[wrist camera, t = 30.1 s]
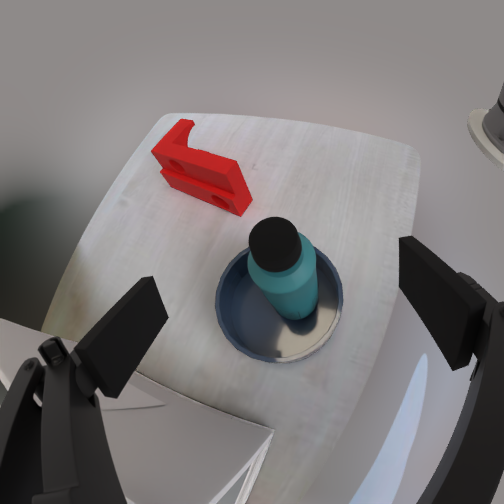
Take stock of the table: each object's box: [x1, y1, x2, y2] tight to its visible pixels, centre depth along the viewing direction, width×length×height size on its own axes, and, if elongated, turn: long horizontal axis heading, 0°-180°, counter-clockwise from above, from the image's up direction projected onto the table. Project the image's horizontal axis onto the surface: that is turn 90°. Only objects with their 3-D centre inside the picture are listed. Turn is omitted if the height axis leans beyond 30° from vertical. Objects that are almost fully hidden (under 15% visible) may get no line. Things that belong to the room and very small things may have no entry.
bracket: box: [151, 119, 253, 217], centre depth 47 cm, size 18×10×10 cm
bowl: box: [215, 246, 343, 363], centre depth 36 cm, size 16×16×6 cm
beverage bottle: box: [248, 217, 319, 321], centre depth 29 cm, size 6×7×20 cm
